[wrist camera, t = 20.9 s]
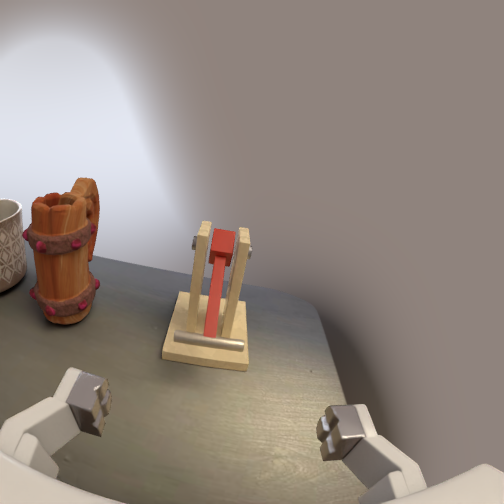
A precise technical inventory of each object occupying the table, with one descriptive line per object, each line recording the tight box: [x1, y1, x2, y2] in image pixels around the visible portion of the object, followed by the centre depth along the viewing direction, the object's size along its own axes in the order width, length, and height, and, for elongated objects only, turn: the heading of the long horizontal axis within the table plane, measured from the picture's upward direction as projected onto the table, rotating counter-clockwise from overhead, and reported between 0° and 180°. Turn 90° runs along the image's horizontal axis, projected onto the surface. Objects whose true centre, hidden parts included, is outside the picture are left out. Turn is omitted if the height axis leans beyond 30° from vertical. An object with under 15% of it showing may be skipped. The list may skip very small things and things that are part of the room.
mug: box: [22, 178, 100, 325], centre depth 30 cm, size 15×8×15 cm, turn 5°
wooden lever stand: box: [162, 221, 252, 371], centre depth 32 cm, size 12×9×13 cm
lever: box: [173, 228, 244, 352], centre depth 27 cm, size 12×6×2 cm
